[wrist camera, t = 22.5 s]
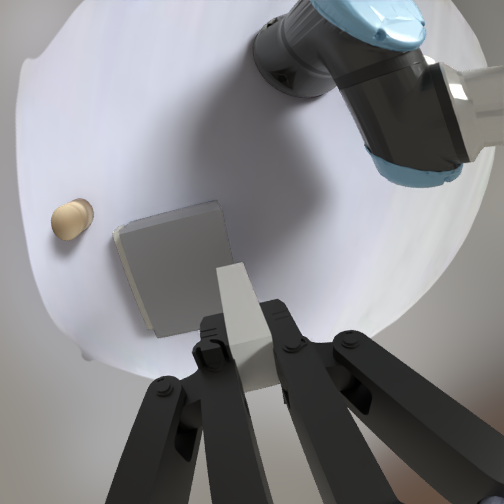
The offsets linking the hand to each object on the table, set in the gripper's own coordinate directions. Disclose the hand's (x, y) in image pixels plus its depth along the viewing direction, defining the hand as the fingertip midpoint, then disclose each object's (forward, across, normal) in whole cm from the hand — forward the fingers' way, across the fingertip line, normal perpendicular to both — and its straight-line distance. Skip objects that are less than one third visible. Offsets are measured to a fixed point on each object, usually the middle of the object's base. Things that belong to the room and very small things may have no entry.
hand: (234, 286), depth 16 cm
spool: (+28, -21, +3) cm, 35 cm away
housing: (+28, -6, -9) cm, 30 cm away
